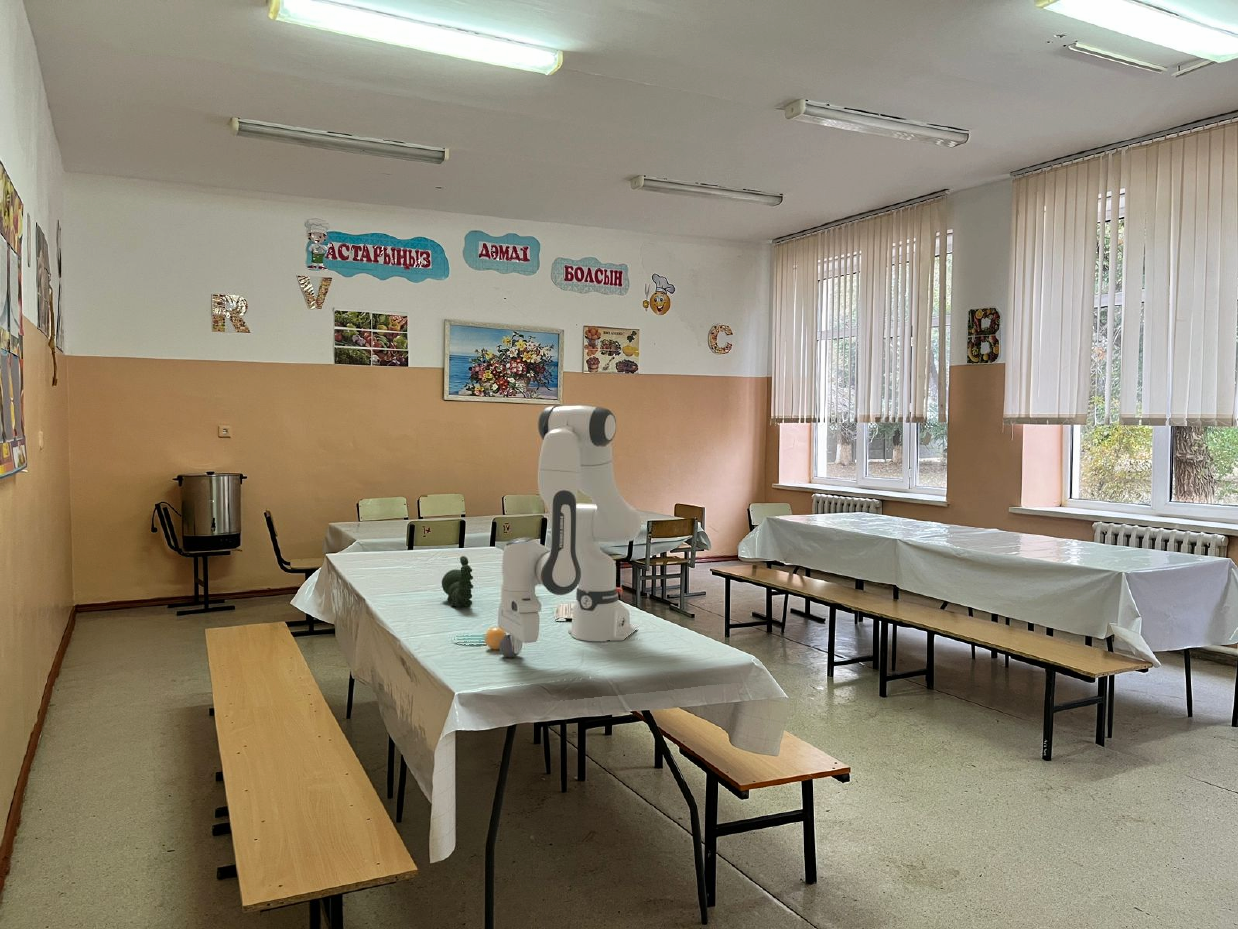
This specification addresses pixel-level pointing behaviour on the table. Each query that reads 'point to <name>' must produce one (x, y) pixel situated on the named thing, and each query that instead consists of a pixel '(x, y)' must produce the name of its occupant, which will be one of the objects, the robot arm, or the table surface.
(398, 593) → the table surface
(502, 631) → the orange ball
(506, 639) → the dark grey ball
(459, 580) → the toy figurine
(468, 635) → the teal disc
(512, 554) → the robot arm
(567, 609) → the newspaper
